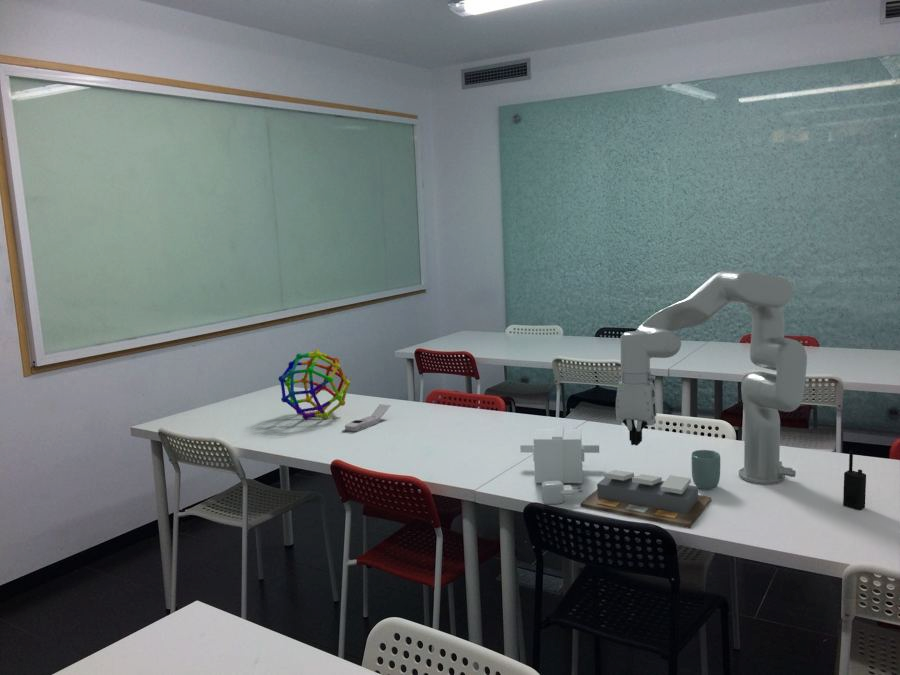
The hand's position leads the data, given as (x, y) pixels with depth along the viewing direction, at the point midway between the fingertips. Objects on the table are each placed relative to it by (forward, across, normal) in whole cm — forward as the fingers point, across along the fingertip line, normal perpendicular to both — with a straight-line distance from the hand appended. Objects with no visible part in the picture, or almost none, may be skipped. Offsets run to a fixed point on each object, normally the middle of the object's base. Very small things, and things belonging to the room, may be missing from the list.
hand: (635, 443), depth 193 cm
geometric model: (+19, +152, -34) cm, 157 cm away
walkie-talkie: (+17, -51, -23) cm, 58 cm away
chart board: (+18, -2, -2) cm, 18 cm away
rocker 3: (+12, -10, -3) cm, 16 cm away
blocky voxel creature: (+18, +30, -17) cm, 39 cm away
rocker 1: (+12, +6, -4) cm, 14 cm away
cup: (+18, -14, -21) cm, 31 cm away
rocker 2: (+12, -2, -3) cm, 12 cm away
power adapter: (+18, +19, +6) cm, 27 cm away
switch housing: (+18, -2, -3) cm, 18 cm away
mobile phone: (+19, +123, -34) cm, 129 cm away
